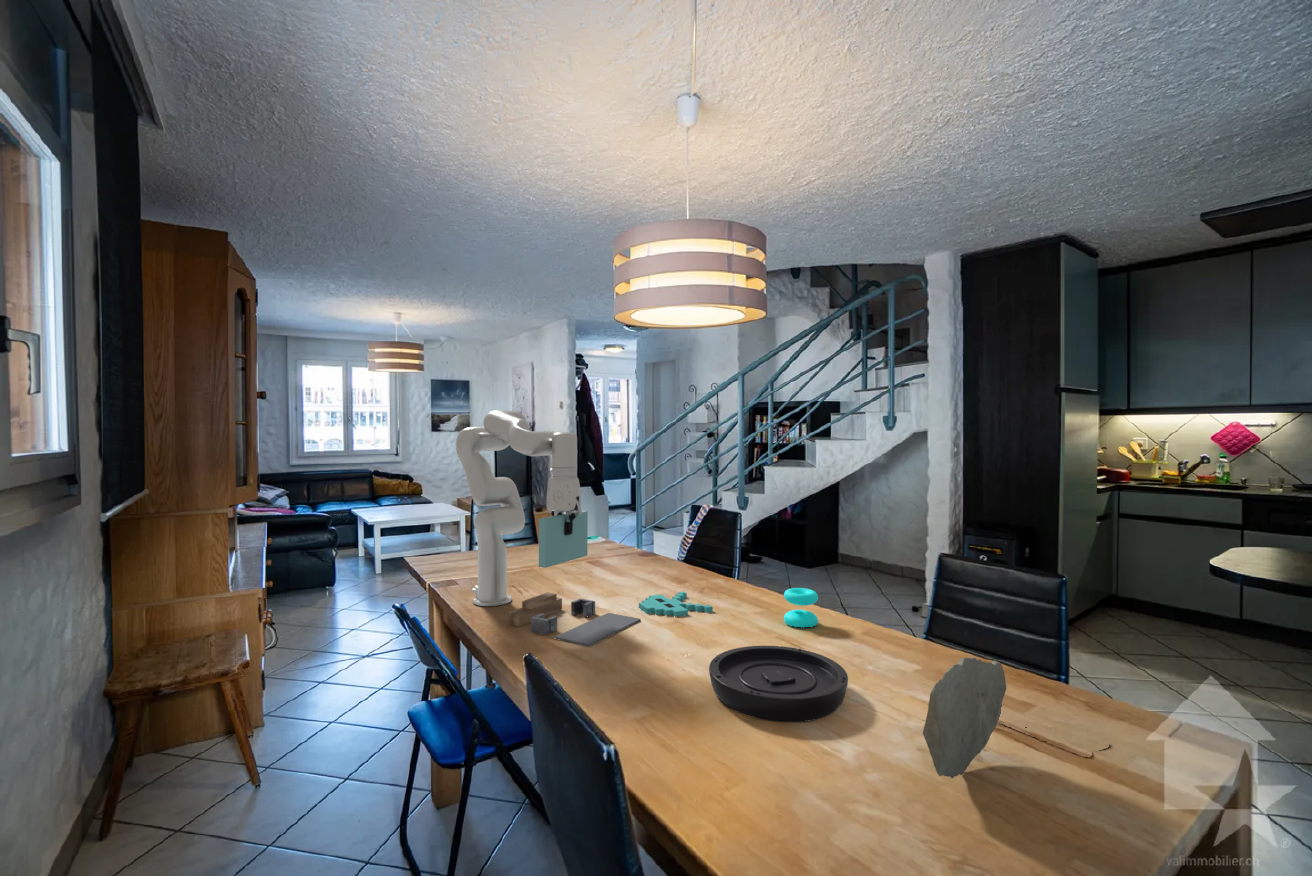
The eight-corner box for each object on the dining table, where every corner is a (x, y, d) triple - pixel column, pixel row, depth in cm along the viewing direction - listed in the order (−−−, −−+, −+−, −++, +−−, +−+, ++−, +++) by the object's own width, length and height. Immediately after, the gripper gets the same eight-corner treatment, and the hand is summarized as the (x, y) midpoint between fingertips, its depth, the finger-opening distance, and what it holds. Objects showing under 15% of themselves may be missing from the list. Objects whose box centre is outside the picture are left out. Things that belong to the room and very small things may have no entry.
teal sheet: (538, 566, 177) (538, 518, 177) (581, 554, 194) (581, 510, 194) (545, 567, 176) (545, 519, 175) (587, 555, 193) (587, 511, 193)
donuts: (824, 591, 183) (805, 597, 177) (824, 624, 183) (805, 632, 177) (796, 585, 191) (777, 590, 184) (796, 617, 191) (777, 623, 184)
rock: (971, 738, 116) (972, 633, 116) (1008, 750, 111) (1009, 641, 111) (913, 797, 97) (914, 672, 97) (954, 815, 93) (955, 684, 92)
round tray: (797, 661, 155) (688, 677, 145) (797, 638, 155) (688, 652, 144) (878, 713, 127) (749, 738, 116) (878, 684, 127) (749, 706, 116)
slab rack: (530, 631, 176) (530, 617, 176) (580, 611, 196) (580, 598, 196) (546, 635, 174) (546, 620, 173) (595, 613, 194) (595, 601, 193)
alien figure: (683, 597, 214) (630, 604, 206) (683, 591, 214) (630, 598, 206) (712, 613, 196) (655, 621, 187) (712, 606, 196) (655, 614, 187)
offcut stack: (508, 625, 183) (508, 605, 183) (552, 608, 200) (552, 590, 200) (518, 627, 181) (519, 607, 181) (561, 610, 198) (561, 592, 198)
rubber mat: (554, 638, 170) (554, 636, 170) (608, 614, 193) (608, 612, 193) (589, 646, 164) (589, 644, 164) (640, 620, 187) (640, 618, 187)
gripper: (535, 472, 185) (535, 533, 186) (578, 475, 177) (577, 538, 177) (551, 471, 192) (551, 530, 192) (593, 473, 184) (593, 534, 184)
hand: (564, 533), depth 185 cm, fingers closed on teal sheet, 2 cm apart
